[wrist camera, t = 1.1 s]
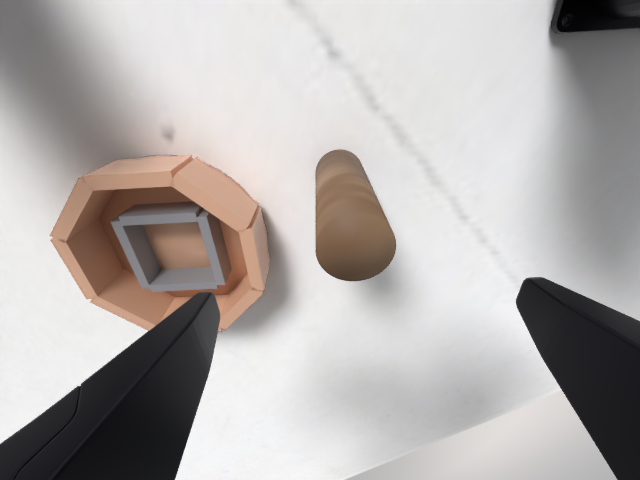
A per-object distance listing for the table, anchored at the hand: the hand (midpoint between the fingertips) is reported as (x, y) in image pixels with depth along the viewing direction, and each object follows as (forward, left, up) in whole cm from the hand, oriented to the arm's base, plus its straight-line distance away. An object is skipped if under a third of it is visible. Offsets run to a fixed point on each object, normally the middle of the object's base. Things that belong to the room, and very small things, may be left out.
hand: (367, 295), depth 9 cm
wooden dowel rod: (0, 0, -12) cm, 12 cm away
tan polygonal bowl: (+11, +4, -12) cm, 17 cm away
